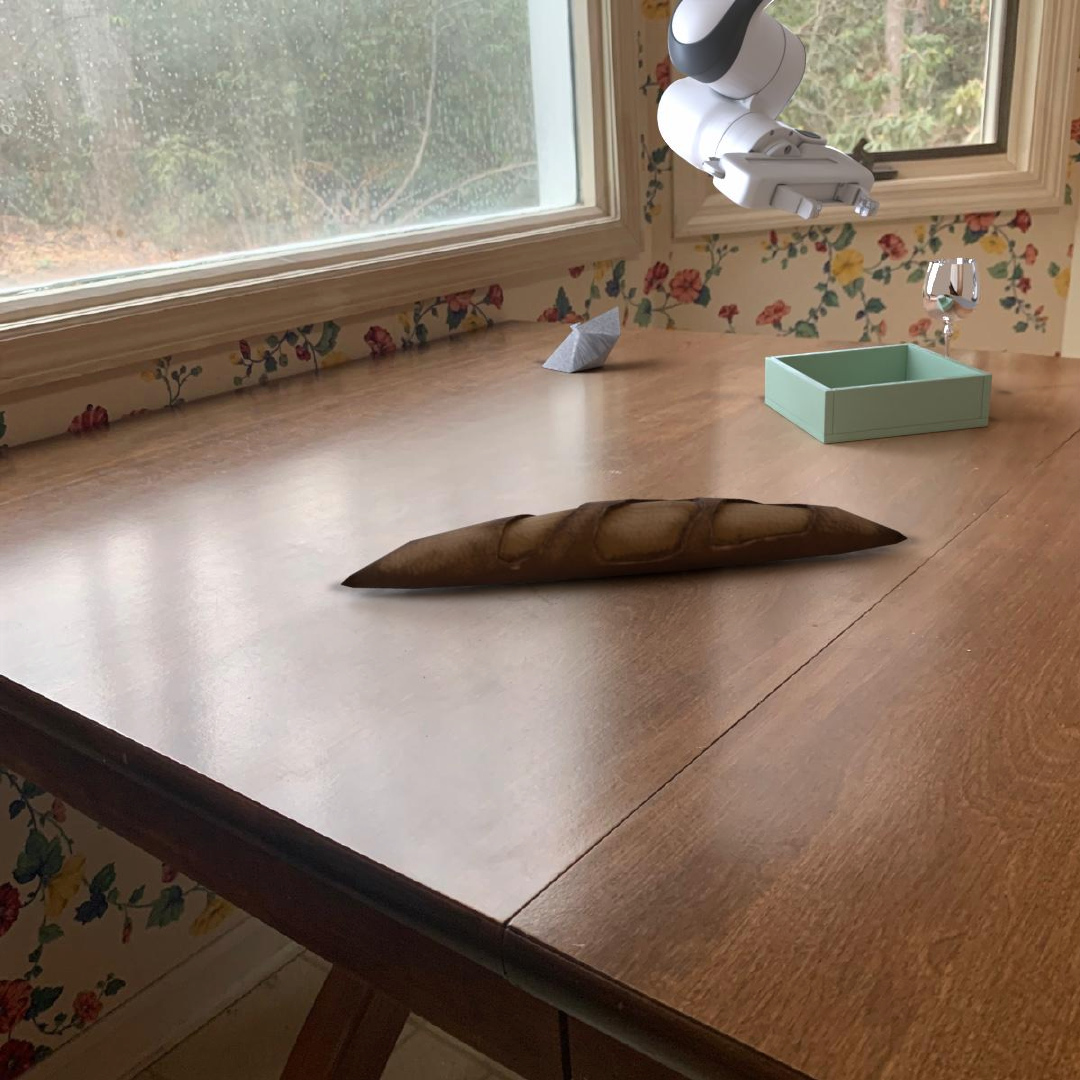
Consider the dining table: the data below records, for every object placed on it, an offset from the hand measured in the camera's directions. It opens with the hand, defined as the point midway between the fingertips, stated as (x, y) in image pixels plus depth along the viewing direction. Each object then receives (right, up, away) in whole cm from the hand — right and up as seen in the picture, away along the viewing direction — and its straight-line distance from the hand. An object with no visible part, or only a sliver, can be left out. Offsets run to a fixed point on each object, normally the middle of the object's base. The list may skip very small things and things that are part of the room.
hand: (845, 211), depth 117 cm
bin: (-1, -23, -12) cm, 26 cm away
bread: (-27, -38, -44) cm, 64 cm away
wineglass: (+11, -18, +1) cm, 21 cm away
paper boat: (-27, -14, +17) cm, 35 cm away
